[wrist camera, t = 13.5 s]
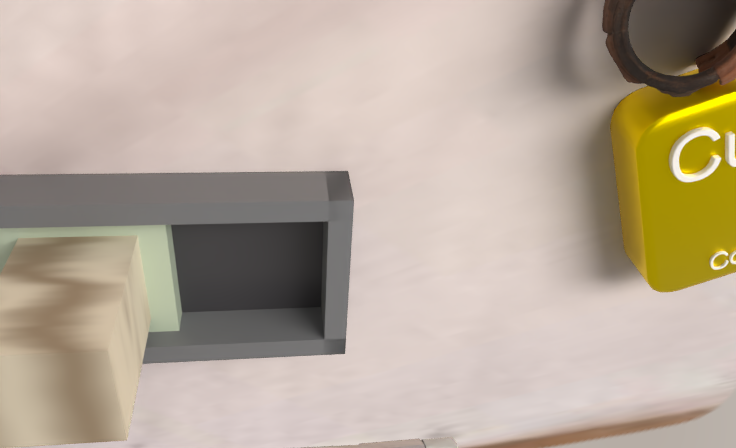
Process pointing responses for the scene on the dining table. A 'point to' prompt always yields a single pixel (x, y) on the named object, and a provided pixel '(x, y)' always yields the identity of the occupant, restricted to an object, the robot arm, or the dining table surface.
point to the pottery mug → (715, 65)
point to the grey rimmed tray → (211, 253)
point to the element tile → (677, 183)
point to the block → (71, 339)
